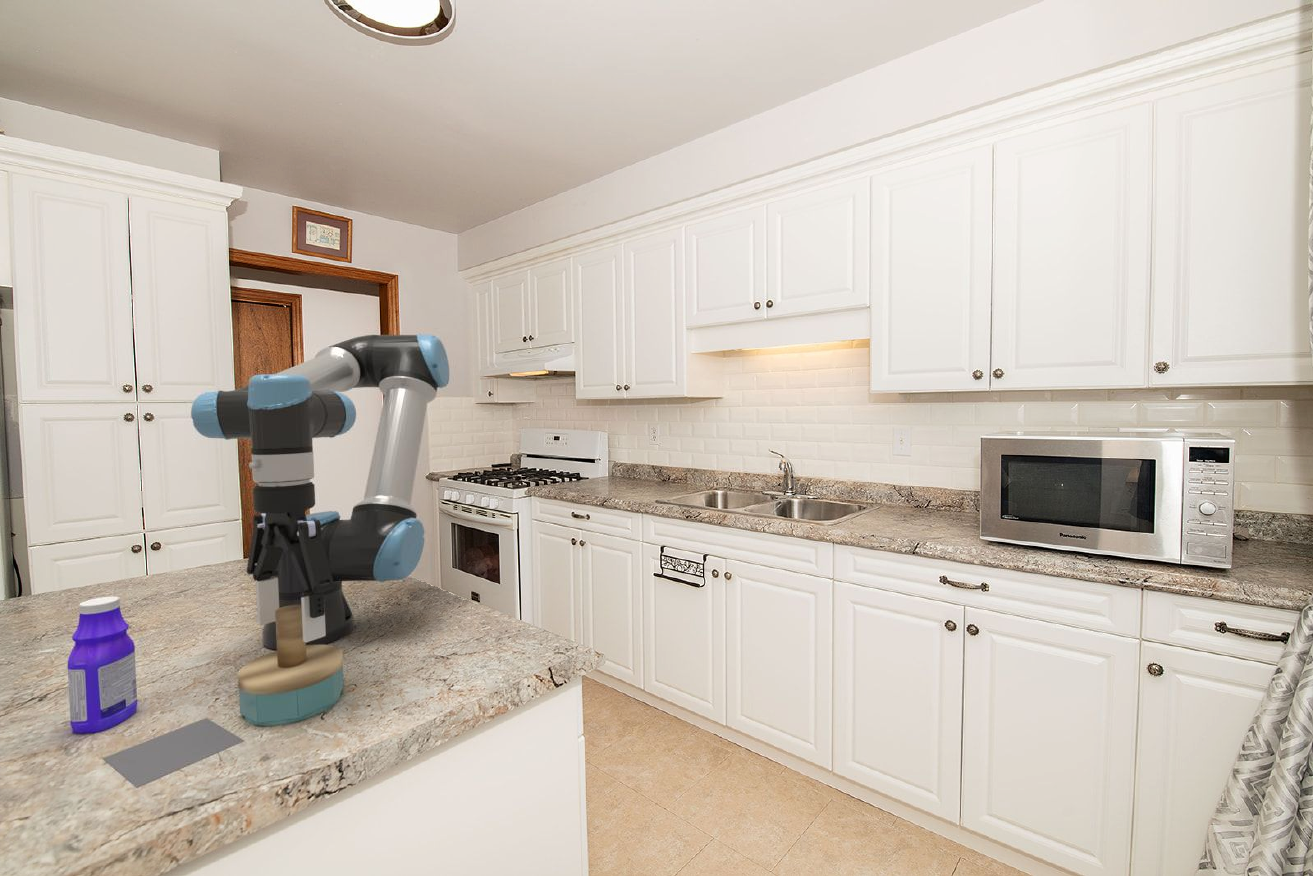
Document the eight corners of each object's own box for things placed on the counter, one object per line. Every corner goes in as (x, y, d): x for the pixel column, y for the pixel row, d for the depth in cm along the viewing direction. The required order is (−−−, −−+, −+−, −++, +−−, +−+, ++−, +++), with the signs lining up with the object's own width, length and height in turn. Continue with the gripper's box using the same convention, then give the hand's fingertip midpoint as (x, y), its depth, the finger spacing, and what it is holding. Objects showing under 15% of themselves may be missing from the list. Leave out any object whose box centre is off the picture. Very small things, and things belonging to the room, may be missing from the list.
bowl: (228, 713, 84) (226, 679, 84) (313, 680, 95) (312, 649, 94) (271, 737, 78) (269, 700, 78) (357, 698, 88) (356, 666, 88)
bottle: (106, 710, 86) (98, 593, 85) (148, 708, 86) (141, 591, 85) (60, 739, 78) (51, 610, 77) (106, 736, 79) (97, 608, 78)
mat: (102, 761, 73) (102, 758, 73) (206, 720, 83) (206, 717, 83) (137, 790, 68) (137, 787, 68) (244, 743, 77) (244, 740, 77)
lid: (220, 680, 84) (217, 614, 84) (313, 647, 95) (311, 589, 95) (266, 703, 77) (263, 632, 77) (361, 665, 88) (358, 603, 88)
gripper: (215, 480, 88) (222, 623, 89) (302, 491, 75) (309, 657, 76) (269, 475, 94) (276, 608, 95) (358, 484, 81) (364, 637, 83)
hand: (290, 630), depth 86 cm, fingers open, 12 cm apart
